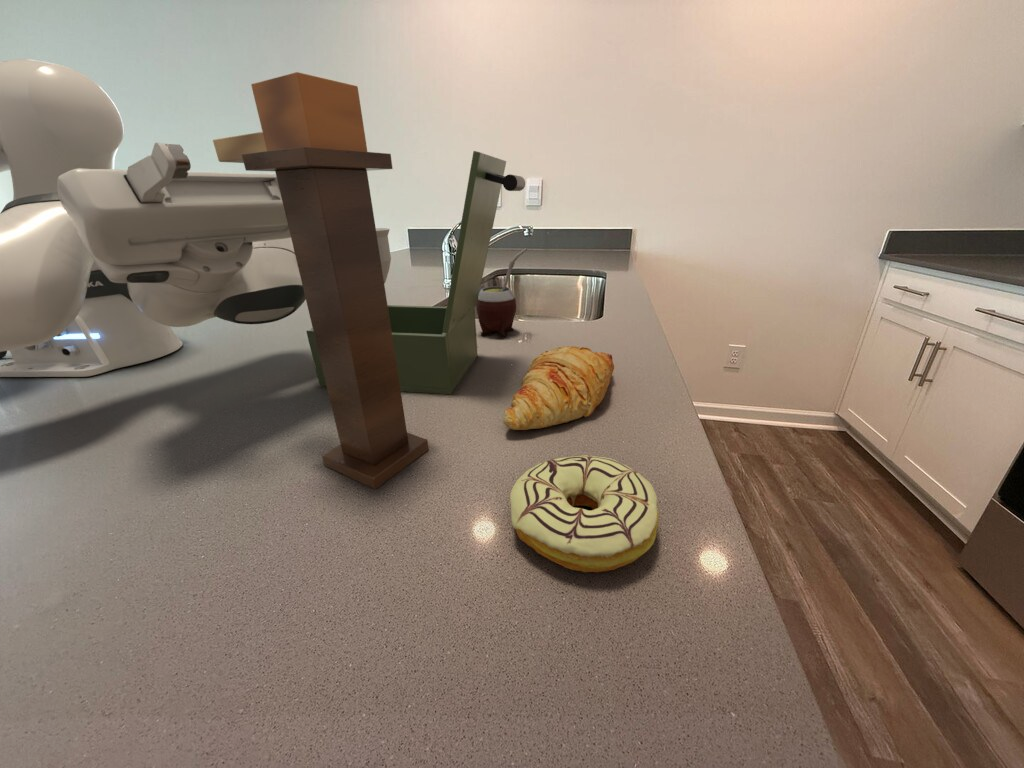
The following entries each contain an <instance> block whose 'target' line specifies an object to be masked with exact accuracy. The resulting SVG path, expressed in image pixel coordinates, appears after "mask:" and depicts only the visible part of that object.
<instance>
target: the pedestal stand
mask: <svg viewBox="0 0 1024 768" xmlns="http://www.w3.org/2000/svg"><path fill="white" fill-rule="evenodd" d="M242 158H243V162H244V163H243V165H244V170H245V171H246V172H247V171H249V172H251V171H252V172H275V173H274V174H276V177H277V181H278V185H279V189H280V193H281V198H282V202H283V206H284V210H285V214H286V218H287V223H288V227H289V231H290V235H291V239H292V244H293V248H294V252H295V256H296V260H297V264H298V269H299V273H300V277H301V281H302V285H303V290H304V294H305V298H306V300H305V301H306V306H307V309H308V315H309V318H310V323H311V328H313V331H314V335H315V340H316V344H317V348H318V352H319V356H320V361H321V365H322V369H323V373H324V377H325V381H326V386H325V387H326V390H327V393H328V398H329V402H330V406H331V410H332V414H333V419H334V423H335V428H336V431H337V436H338V441H339V445H337V446H336V447H334V448H332V449H330V450H329V451H327V452H325V453H324V454H322V455H321V458H322V461H323V466H325V467H327V468H329V469H331V470H333V471H335V472H337V473H340V474H342V475H344V476H346V477H348V478H351V479H352V480H355V481H356V482H358V483H361V484H363V485H365V486H368V487H370V488H372V489H374V490H377V489H378V488H379V487H380V486H382V485H383V484H384V483H386V482H387V481H389V480H390V479H392V477H394V476H395V475H397V474H398V473H399V472H400V471H402V470H403V469H405V468H406V467H407V466H409V465H410V464H411V463H413V462H414V461H416V460H417V459H419V457H421V456H422V455H423V454H425V453H426V452H427V451H429V450H430V449H429V441H428V439H426V438H424V437H421V436H418V435H416V434H413V433H409V432H408V430H407V423H406V417H405V410H404V403H403V398H402V397H403V396H402V391H401V390H400V383H399V377H398V370H397V364H396V357H395V351H394V344H393V338H392V331H391V325H390V318H389V312H388V305H389V304H388V301H387V293H386V287H385V283H384V279H383V273H382V266H381V260H380V253H379V247H378V240H377V234H376V228H377V227H376V221H375V215H374V208H373V202H372V201H373V200H372V196H371V189H370V183H369V182H370V181H369V176H368V172H369V171H370V172H371V171H384V170H393V161H392V155H391V153H386V152H385V153H384V152H375V151H367V152H363V151H351V150H338V149H326V148H314V147H297V148H289V149H280V150H272V151H263V152H255V153H246V154H242Z"/></svg>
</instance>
